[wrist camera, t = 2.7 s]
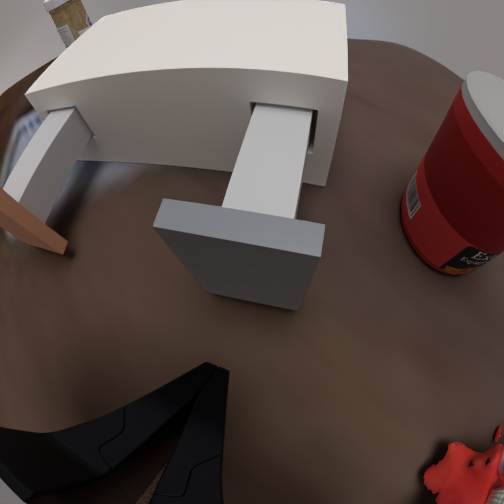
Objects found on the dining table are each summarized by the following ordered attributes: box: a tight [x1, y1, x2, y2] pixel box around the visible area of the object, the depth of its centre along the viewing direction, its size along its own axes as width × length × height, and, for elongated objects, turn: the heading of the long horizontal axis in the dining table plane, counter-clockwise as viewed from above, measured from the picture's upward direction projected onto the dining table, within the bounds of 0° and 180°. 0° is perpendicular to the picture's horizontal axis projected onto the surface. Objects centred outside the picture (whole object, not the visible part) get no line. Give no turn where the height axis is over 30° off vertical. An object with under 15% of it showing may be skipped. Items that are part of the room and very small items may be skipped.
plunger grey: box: [153, 102, 325, 311], centre depth 14 cm, size 14×5×8 cm, turn 167°
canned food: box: [401, 71, 504, 275], centre depth 13 cm, size 8×8×11 cm
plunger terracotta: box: [0, 106, 93, 254], centre depth 17 cm, size 14×5×8 cm, turn 167°
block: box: [25, 0, 348, 187], centre depth 19 cm, size 12×22×9 cm, turn 77°
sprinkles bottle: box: [44, 0, 92, 48], centre depth 24 cm, size 5×5×14 cm
